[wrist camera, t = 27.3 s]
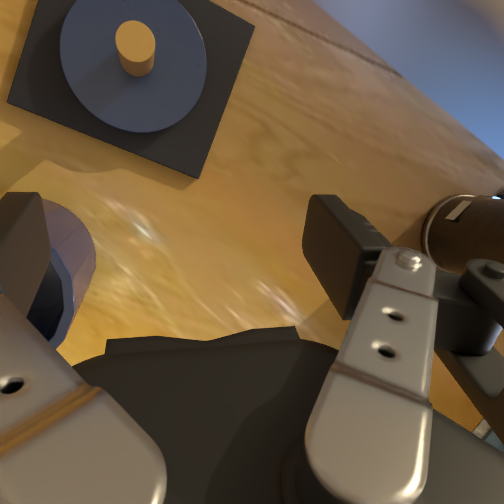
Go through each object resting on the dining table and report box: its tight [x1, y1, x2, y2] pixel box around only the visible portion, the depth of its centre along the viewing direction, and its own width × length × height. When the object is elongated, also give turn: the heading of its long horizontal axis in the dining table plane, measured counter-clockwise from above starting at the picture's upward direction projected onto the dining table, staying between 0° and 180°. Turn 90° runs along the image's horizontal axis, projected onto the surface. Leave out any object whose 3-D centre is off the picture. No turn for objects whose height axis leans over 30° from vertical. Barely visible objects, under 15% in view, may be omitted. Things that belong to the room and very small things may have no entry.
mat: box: [7, 0, 255, 179], centre depth 35 cm, size 17×15×1 cm
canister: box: [26, 199, 96, 349], centre depth 30 cm, size 11×11×12 cm
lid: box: [59, 0, 207, 133], centre depth 32 cm, size 12×12×6 cm
